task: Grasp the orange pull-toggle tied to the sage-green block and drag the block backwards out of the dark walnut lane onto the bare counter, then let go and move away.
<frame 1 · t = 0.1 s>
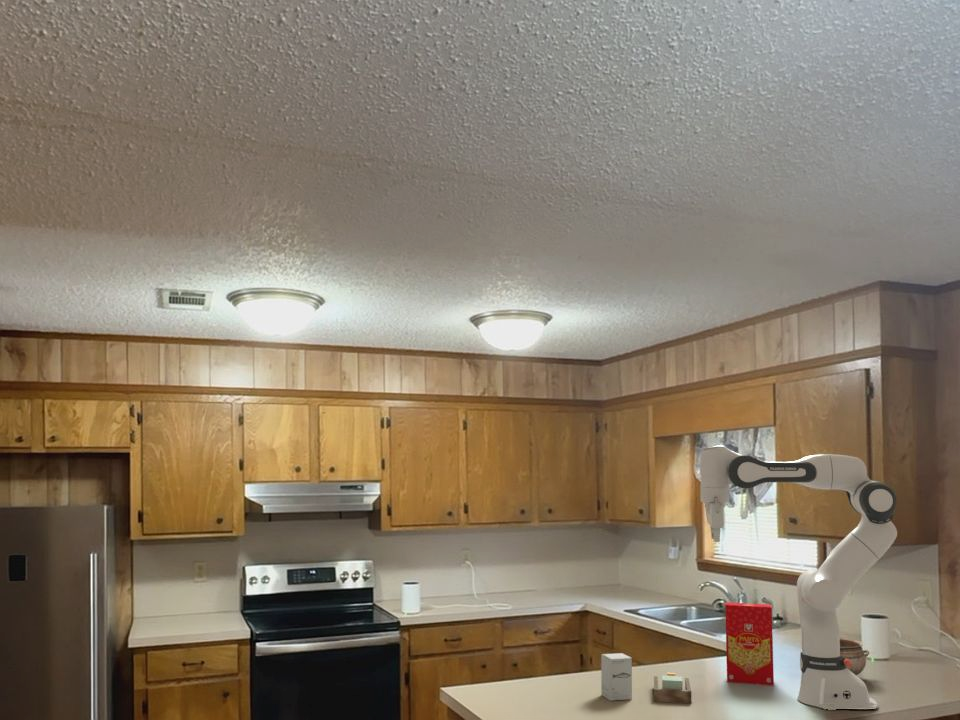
hand: (715, 540, 282), 48 cm above the countertop, fingers open, 8 cm apart
block: (672, 698, 274), resting in lane
lane: (672, 695, 277), on the countertop
cooking pot: (836, 679, 299), on the countertop
supplement box: (616, 698, 275), on the countertop
food packaging: (750, 682, 294), on the countertop
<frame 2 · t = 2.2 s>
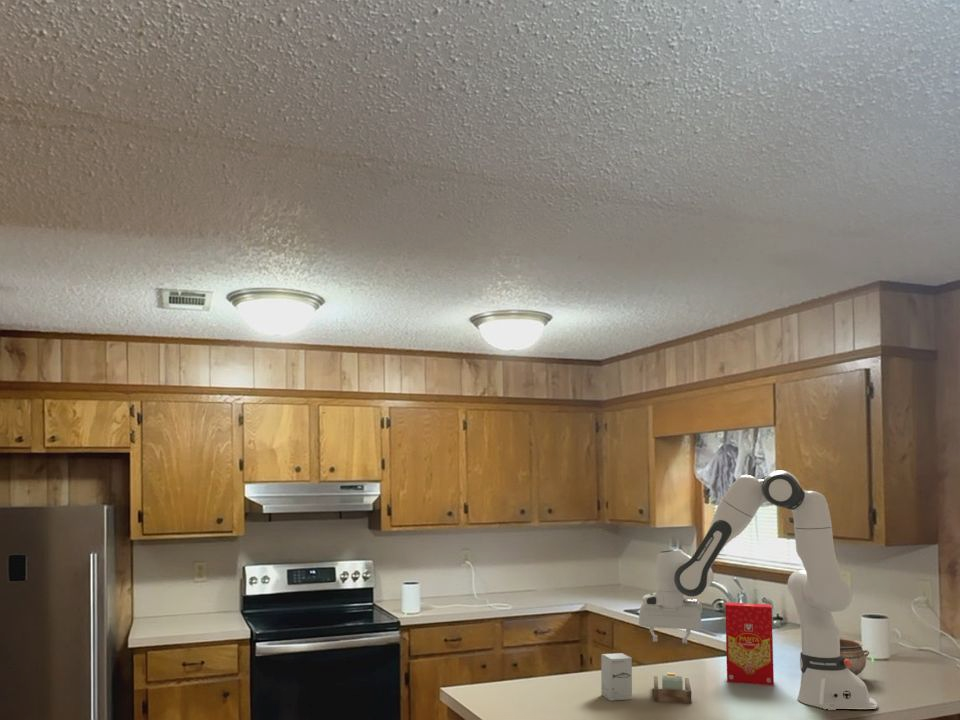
hand: (669, 642, 289), 14 cm above the countertop, fingers open, 8 cm apart
nothing on the countertop moved.
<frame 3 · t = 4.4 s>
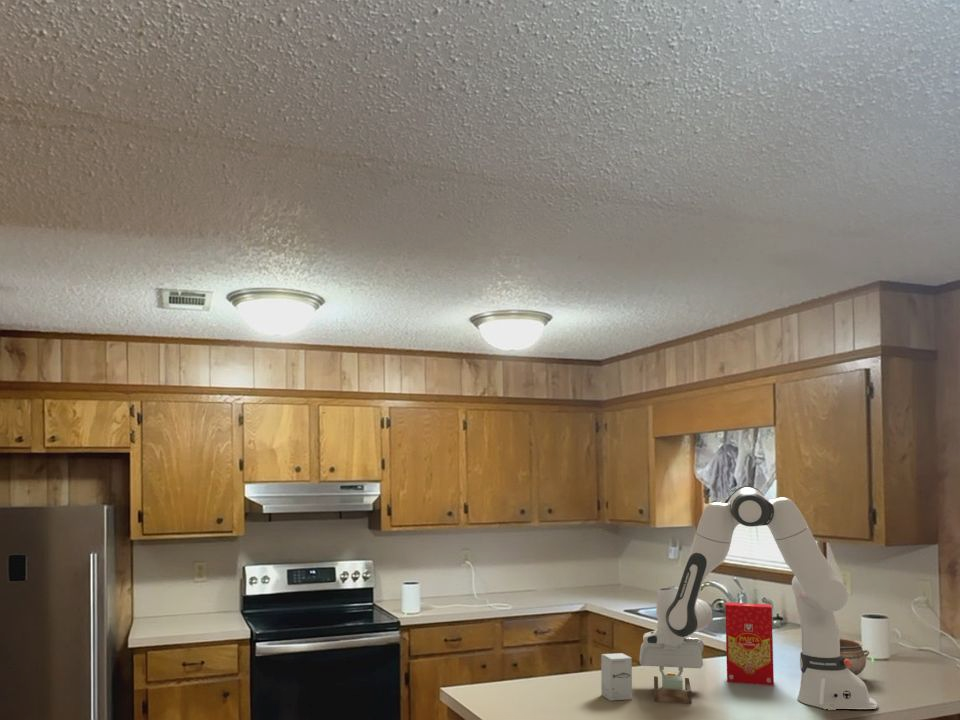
hand: (671, 680, 287), 2 cm above the countertop, fingers closed on block, 2 cm apart
block: (672, 697, 274), resting in lane, touching gripper
everything else where it was.
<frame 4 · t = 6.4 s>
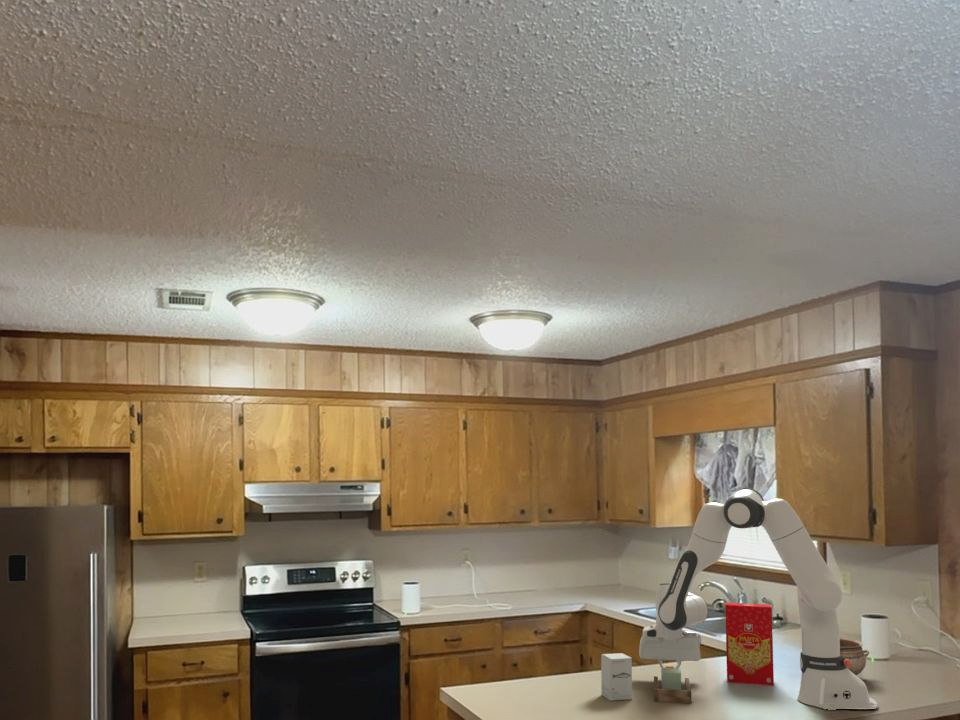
hand: (669, 673, 297), 2 cm above the countertop, fingers closed on block, 2 cm apart
block: (671, 690, 283), on the countertop, touching gripper
everything else where it was.
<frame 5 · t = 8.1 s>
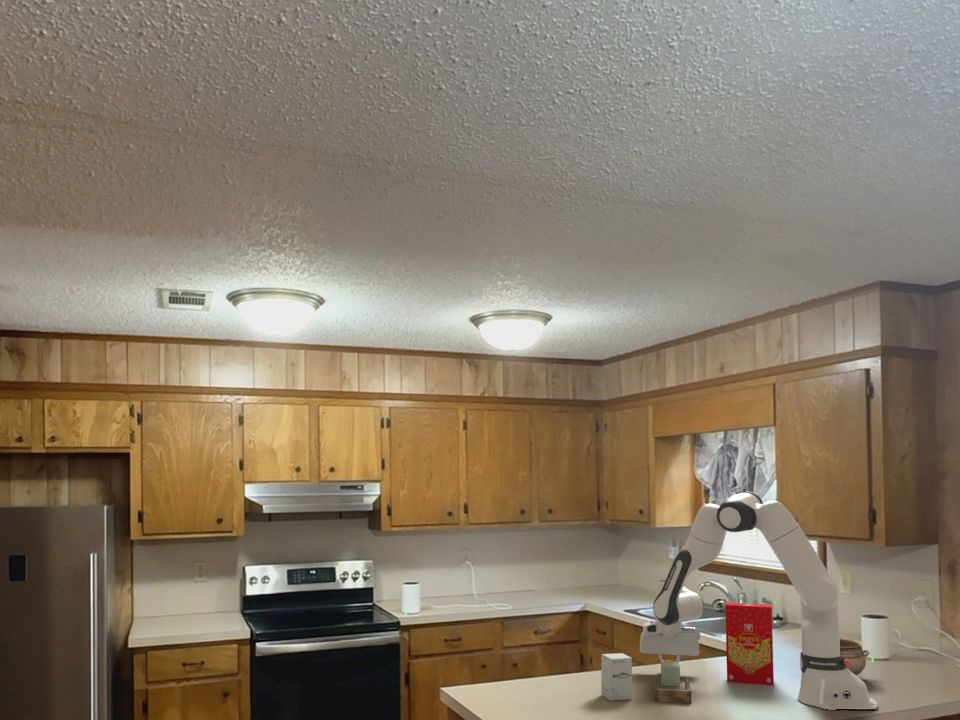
hand: (669, 667, 305), 2 cm above the countertop, fingers closed on block, 2 cm apart
block: (670, 683, 291), on the countertop, touching gripper
everything else where it was.
when the fingers open (2 cm above the countertop, at t = 8.9 s): block stays where it is, on the countertop.
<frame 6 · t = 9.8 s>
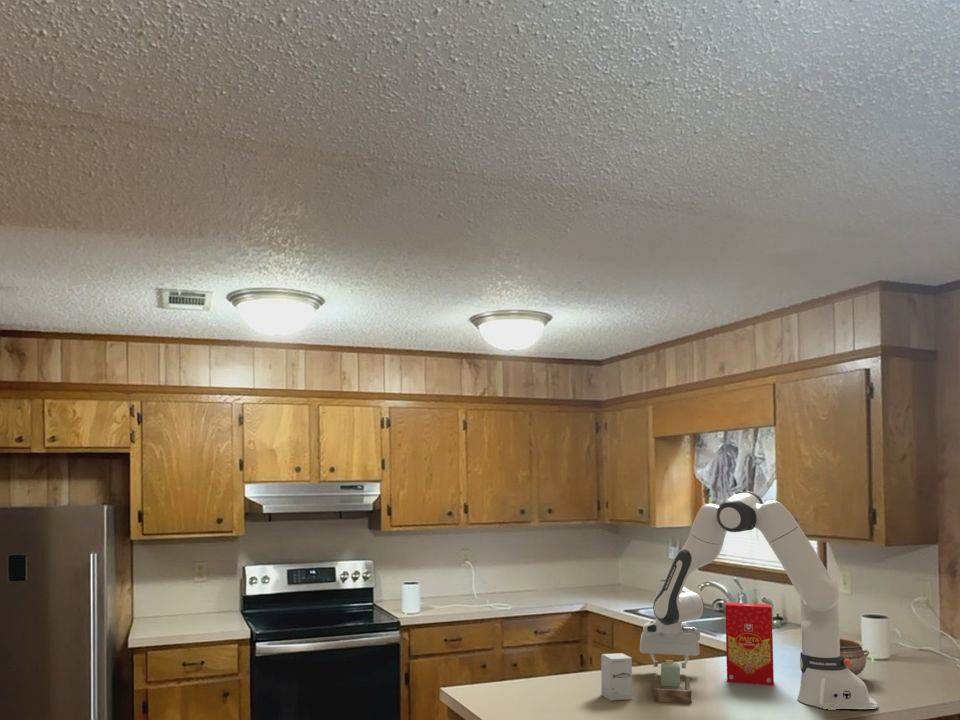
hand: (669, 667, 305), 2 cm above the countertop, fingers open, 8 cm apart
block: (670, 683, 291), on the countertop
everything else where it was.
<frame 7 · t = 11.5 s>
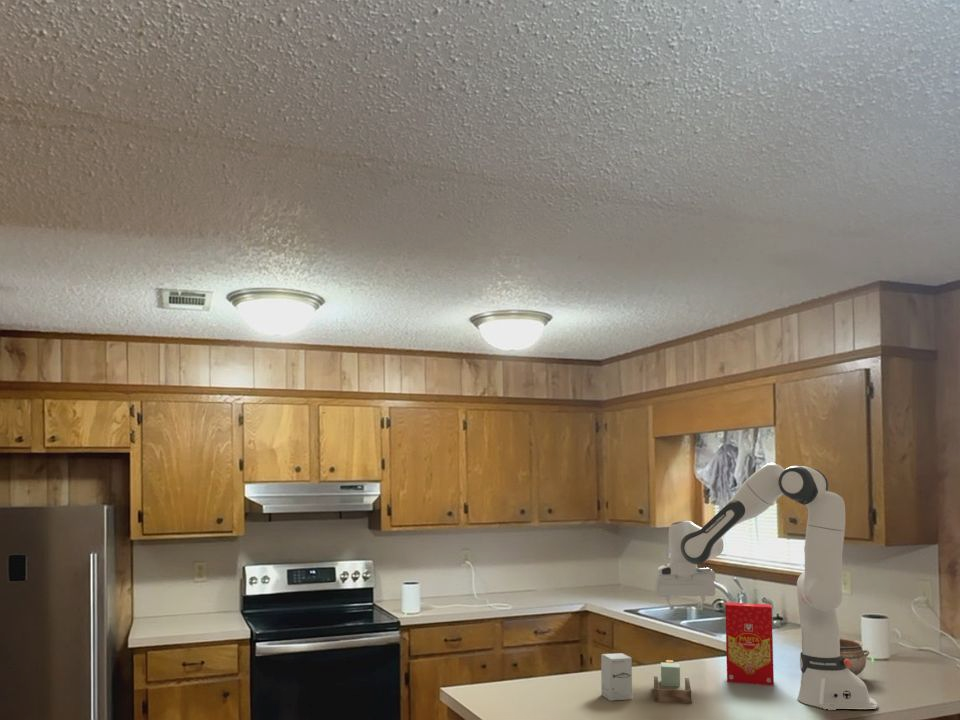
hand: (686, 609, 302), 22 cm above the countertop, fingers open, 8 cm apart
nothing on the countertop moved.
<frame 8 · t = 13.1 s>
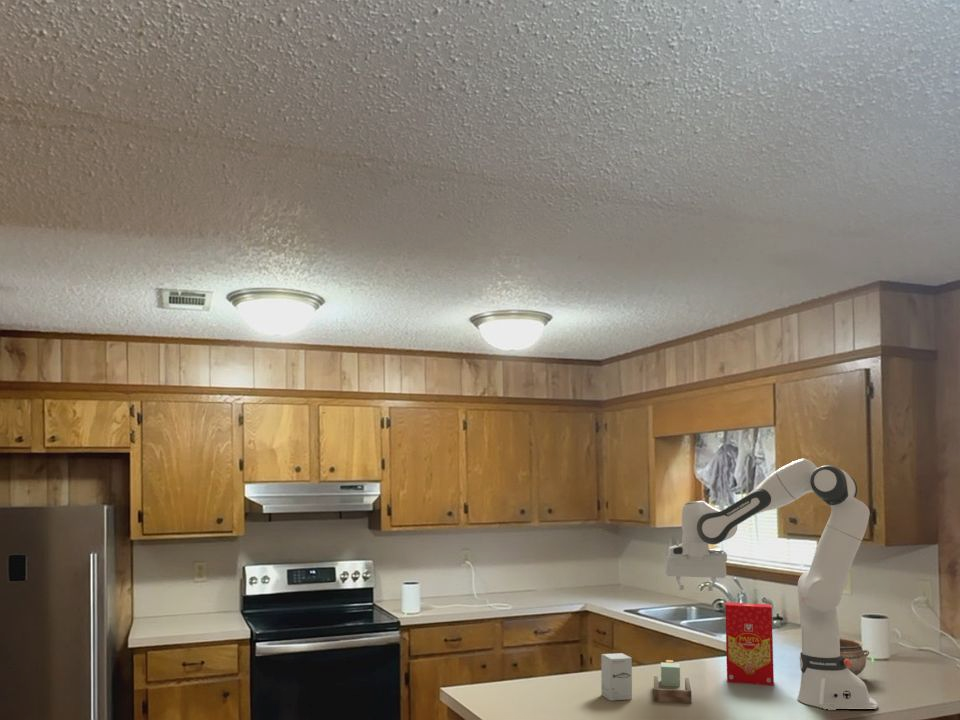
hand: (695, 590, 300), 29 cm above the countertop, fingers open, 8 cm apart
nothing on the countertop moved.
at the end: block inside the target area (5.7 cm from its centre), on the countertop; block tilted 0°; the gripper is holding nothing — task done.
